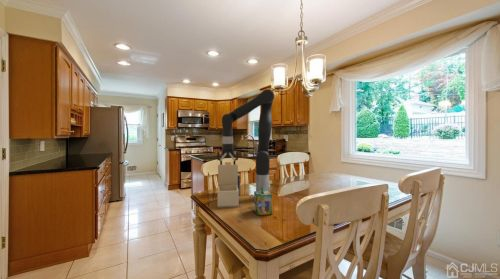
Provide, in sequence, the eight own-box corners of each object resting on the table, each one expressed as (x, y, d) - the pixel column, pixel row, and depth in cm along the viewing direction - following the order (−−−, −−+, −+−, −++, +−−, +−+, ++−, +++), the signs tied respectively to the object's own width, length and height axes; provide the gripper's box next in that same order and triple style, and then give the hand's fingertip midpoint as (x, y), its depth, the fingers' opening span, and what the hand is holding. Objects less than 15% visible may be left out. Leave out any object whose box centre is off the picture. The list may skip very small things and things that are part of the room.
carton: (237, 199, 148) (237, 184, 148) (238, 206, 134) (238, 191, 133) (218, 199, 147) (218, 185, 147) (217, 207, 132) (217, 191, 132)
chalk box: (272, 214, 121) (272, 188, 121) (256, 215, 120) (256, 189, 119) (268, 208, 130) (268, 184, 130) (253, 209, 129) (253, 185, 128)
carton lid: (237, 184, 147) (237, 180, 153) (237, 164, 144) (237, 161, 149) (218, 185, 146) (218, 181, 152) (217, 165, 142) (218, 161, 148)
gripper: (237, 142, 154) (237, 165, 155) (217, 142, 152) (217, 165, 153) (238, 143, 146) (238, 166, 147) (217, 143, 145) (217, 167, 146)
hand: (227, 166), depth 150 cm, fingers open, 8 cm apart
